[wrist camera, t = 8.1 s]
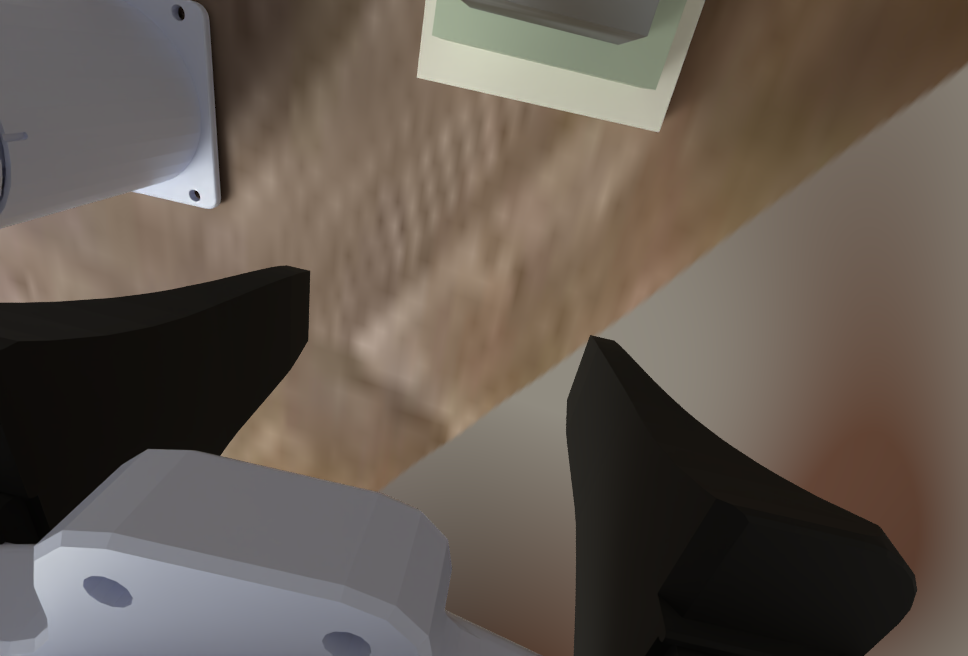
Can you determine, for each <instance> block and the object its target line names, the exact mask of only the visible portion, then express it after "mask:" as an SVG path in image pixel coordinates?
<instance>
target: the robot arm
mask: <svg viewBox="0 0 968 656" xmlns="http://www.w3.org/2000/svg"><path fill="white" fill-rule="evenodd" d="M180 6H181V7H182V9H183V10H184V13H185V18H184V19H183V20H182V19H181V18H180V17H179V14H178V9H179V8H180ZM195 190H196V191H197V192H198V193H199V194H200V199H199V198H197V197H196V196H195V193H194V192H195ZM131 191H132V192H136V193H141V194H145V195H149V196H154V197H158V198H162V199H167V200H171V201H175V202H180V203H184V204H189V205H193V206H197V207H202V208H206V209H212V208H215V207H217V206H219V204H220V202H221V191H220V176H219V160H218V145H217V129H216V114H215V98H214V83H213V67H212V52H211V36H210V21H209V16H208V13H207V11H206V9H205V8H204V7H203V6H202V5H201V4H200V3H198V2H196V1H191V0H0V229H1V228H5V227H8V226H12V225H15V224H19V223H22V222H26V221H29V220H33V219H36V218H40V217H43V216H47V215H50V214H54V213H57V212H61V211H64V210H68V209H71V208H75V207H79V206H82V205H86V204H89V203H93V202H96V201H100V200H103V199H107V198H110V197H114V196H117V195H121V194H124V193H128V192H131ZM309 293H310V271H308V270H304V269H300V268H295V267H291V266H277V267H271V268H266V269H261V270H257V271H252V272H248V273H244V274H240V275H236V276H232V277H227V278H223V279H219V280H215V281H210V282H206V283H201V284H196V285H191V286H186V287H182V288H177V289H172V290H166V291H160V292H154V293H148V294H140V295H132V296H124V297H116V298H105V299H90V300H76V301H61V302H32V303H0V656H542V655H539V654H537V653H535V652H533V651H531V650H529V649H527V648H524V647H522V646H520V645H518V644H516V643H514V642H512V641H510V640H508V639H505V638H503V637H501V636H499V635H497V634H495V633H493V632H491V631H489V630H486V629H484V628H482V627H480V626H478V625H476V624H474V623H472V622H469V621H467V620H465V619H463V618H461V617H459V616H457V615H454V614H452V613H450V612H448V611H446V610H445V604H446V599H447V594H448V588H449V582H450V577H451V571H452V565H451V558H450V551H449V543H448V539H447V538H446V537H445V536H444V535H443V534H442V533H441V532H440V530H439V529H437V527H436V526H435V525H434V524H433V523H432V522H431V521H430V520H429V519H428V518H427V517H426V516H425V515H424V513H422V511H421V510H419V509H418V508H416V507H413V506H411V505H409V504H406V503H404V502H402V501H399V500H397V499H395V498H392V497H390V496H388V495H385V494H383V493H380V492H376V491H371V490H367V489H362V488H358V487H354V486H349V485H345V484H340V483H336V482H332V481H327V480H323V479H319V478H314V477H310V476H305V475H301V474H297V473H292V472H288V471H283V470H279V469H275V468H270V467H266V466H262V465H257V464H253V463H248V462H244V461H240V460H235V459H231V458H226V457H222V456H220V455H221V454H222V452H223V451H224V449H225V448H226V447H227V445H228V444H229V443H230V441H231V440H232V439H233V437H234V436H235V435H236V433H237V432H238V431H239V430H240V429H241V427H242V426H243V425H244V424H245V423H246V422H247V420H248V419H249V418H250V417H251V416H252V415H253V413H254V412H255V411H256V410H257V409H258V408H259V406H260V405H261V404H262V403H263V402H264V401H265V399H266V398H267V397H268V396H269V395H270V394H271V392H272V391H273V390H274V389H275V388H276V386H277V385H278V384H279V383H280V382H281V380H282V379H283V378H284V377H285V376H286V374H287V373H288V372H289V371H290V370H291V368H292V366H293V365H294V363H295V362H296V360H297V359H298V357H299V355H300V354H301V352H302V350H303V348H304V347H305V345H306V343H307V342H308V329H309ZM566 419H567V420H566V436H567V446H568V455H569V463H570V472H571V480H572V488H573V497H574V505H575V518H576V606H575V635H574V656H864V655H865V654H866V653H867V652H868V651H870V650H871V649H872V648H873V647H874V646H875V645H876V644H877V643H878V642H879V641H880V640H881V639H883V638H884V637H885V636H886V635H887V634H888V633H889V632H890V631H891V630H892V629H893V628H894V627H895V626H897V625H898V624H899V623H900V622H901V620H902V619H903V618H904V616H905V615H906V614H907V613H908V612H909V610H910V609H911V607H912V604H913V601H914V598H915V595H916V592H917V586H916V580H915V575H914V573H913V572H912V570H911V569H910V568H909V566H908V565H907V563H906V562H905V561H904V559H903V558H902V556H901V555H900V554H899V552H898V551H897V550H896V548H895V547H894V545H893V544H892V543H891V541H890V540H889V539H888V537H887V536H886V534H885V533H884V532H883V530H882V529H881V528H880V527H879V526H878V525H876V524H874V523H872V522H870V521H868V520H866V519H864V518H862V517H859V516H857V515H855V514H853V513H851V512H849V511H847V510H845V509H843V508H840V507H838V506H836V505H834V504H832V503H830V502H828V501H826V500H823V499H821V498H819V497H817V496H815V495H813V494H812V493H810V492H808V491H806V490H804V489H802V488H800V487H799V486H797V485H795V484H793V483H791V482H790V481H788V480H786V479H784V478H782V477H780V476H779V475H777V474H775V473H774V472H772V471H770V470H768V469H767V468H765V467H763V466H762V465H760V464H759V463H757V462H755V461H754V460H752V459H751V458H749V457H748V456H746V455H745V454H743V453H742V452H740V451H738V450H737V449H735V448H734V447H732V446H731V445H729V444H728V443H727V442H725V441H724V440H722V439H721V438H719V437H718V436H717V435H715V434H714V433H713V432H712V431H710V430H709V429H708V428H706V427H705V426H704V425H703V424H701V423H700V422H699V421H697V420H696V419H695V418H694V417H693V416H691V415H690V414H689V413H688V412H687V411H685V410H684V409H683V408H682V407H681V406H680V405H679V404H677V403H676V402H675V401H674V400H673V399H672V398H671V397H670V396H669V395H668V394H667V393H666V392H665V391H664V390H663V389H662V388H661V387H660V386H659V385H658V384H657V383H656V382H654V381H653V379H652V378H651V377H650V376H649V375H648V374H647V373H646V372H645V371H644V370H643V369H642V368H641V367H640V366H639V365H638V364H637V363H636V362H635V361H634V360H633V358H632V357H631V356H630V355H629V354H628V353H627V352H626V351H625V350H624V349H623V348H622V347H621V346H620V345H619V344H618V343H616V342H615V341H613V340H609V339H604V338H600V337H596V336H592V335H590V337H589V340H588V343H587V346H586V348H585V351H584V354H583V357H582V360H581V362H580V365H579V368H578V371H577V374H576V376H575V379H574V382H573V385H572V388H571V390H570V393H569V396H568V399H567V417H566Z"/></svg>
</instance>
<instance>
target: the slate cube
mask: <svg viewBox="0 0 968 656" xmlns="http://www.w3.org/2000/svg"><path fill="white" fill-rule="evenodd" d="M461 1H463V2H464V3H465V4H466V5H467V6H469V7H470V8H473V9H477V10H481V11H485V12H489V13H493V14H497V15H501V16H505V17H509V18H513V19H517V20H521V21H525V22H529V23H533V24H537V25H541V26H545V27H549V28H553V29H557V30H561V31H565V32H569V33H573V34H577V35H581V36H585V37H589V38H593V39H597V40H601V41H605V42H609V43H613V44H617V45H620V44H623V43H627V42H630V41H634V40H637V39H640V38H644V37H647V36H648V33H649V30H650V27H651V24H652V21H653V18H654V15H655V12H656V9H657V6H658V3H659V0H461Z"/></svg>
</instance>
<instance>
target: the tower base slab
mask: <svg viewBox="0 0 968 656" xmlns="http://www.w3.org/2000/svg"><path fill="white" fill-rule="evenodd" d="M436 2H437V0H426V2H425V11H424V20H423V28H422V37H421V46H420V55H419V63H418V72H417V78H421V79H426V80H430V81H435V82H439V83H443V84H448V85H452V86H457V87H461V88H466V89H470V90H474V91H479V92H483V93H488V94H492V95H496V96H501V97H505V98H510V99H514V100H518V101H523V102H527V103H532V104H536V105H541V106H545V107H549V108H554V109H558V110H563V111H567V112H571V113H576V114H580V115H585V116H589V117H594V118H598V119H602V120H607V121H611V122H616V123H620V124H624V125H629V126H633V127H638V128H642V129H647V130H651V131H655V132H659V131H660V128H661V125H662V122H663V120H664V117H665V114H666V111H667V108H668V105H669V102H670V100H671V97H672V94H673V91H674V88H675V85H676V82H677V80H678V77H679V74H680V71H681V68H682V65H683V62H684V60H685V57H686V54H687V51H688V48H689V45H690V43H691V40H692V37H693V34H694V31H695V28H696V25H697V23H698V20H699V17H700V14H701V11H702V8H703V5H704V3H705V0H687V2H686V4H685V7H684V10H683V13H682V16H681V19H680V22H679V24H678V27H677V30H676V33H675V36H674V39H673V42H672V45H671V47H670V50H669V53H668V56H667V59H666V62H665V65H664V68H663V70H662V73H661V76H660V79H659V82H658V85H657V88H656V90H651V89H644V88H639V87H635V86H630V85H626V84H622V83H618V82H614V81H610V80H606V79H602V78H598V77H594V76H590V75H585V74H581V73H577V72H573V71H569V70H565V69H561V68H557V67H553V66H549V65H545V64H541V63H536V62H532V61H528V60H524V59H520V58H516V57H512V56H508V55H504V54H500V53H496V52H491V51H487V50H483V49H479V48H475V47H471V46H467V45H463V44H459V43H455V42H451V41H446V40H444V39H441V38H438V37H435V36H432V31H433V24H434V16H435V9H436Z"/></svg>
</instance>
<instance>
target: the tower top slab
mask: <svg viewBox="0 0 968 656" xmlns="http://www.w3.org/2000/svg"><path fill="white" fill-rule="evenodd" d="M686 2H687V0H659V3H658V6H657V9H656V12H655V15H654V18H653V21H652V24H651V27H650V30H649V33H648V36H647V37H644V38H640V39H637V40H634V41H630V42H627V43H623V44H620V45H617V44H613V43H609V42H605V41H601V40H597V39H593V38H589V37H585V36H581V35H577V34H573V33H569V32H565V31H561V30H557V29H553V28H549V27H545V26H541V25H537V24H533V23H529V22H525V21H521V20H517V19H513V18H509V17H505V16H501V15H497V14H493V13H489V12H485V11H481V10H477V9H473V8H470V7H469V6H467V5H466V4H465V3H464V2H463V1H461V0H437V2H436V9H435V16H434V24H433V31H432V36H435V37H438V38H441V39H444V40H446V41H451V42H455V43H459V44H463V45H467V46H471V47H475V48H479V49H483V50H487V51H491V52H496V53H500V54H504V55H508V56H512V57H516V58H520V59H524V60H528V61H532V62H536V63H541V64H545V65H549V66H553V67H557V68H561V69H565V70H569V71H573V72H577V73H581V74H585V75H590V76H594V77H598V78H602V79H606V80H610V81H614V82H618V83H622V84H626V85H630V86H635V87H639V88H644V89H651V90H656V88H657V85H658V82H659V79H660V76H661V73H662V70H663V68H664V65H665V62H666V59H667V56H668V53H669V50H670V47H671V45H672V42H673V39H674V36H675V33H676V30H677V27H678V24H679V22H680V19H681V16H682V13H683V10H684V7H685V4H686Z"/></svg>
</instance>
